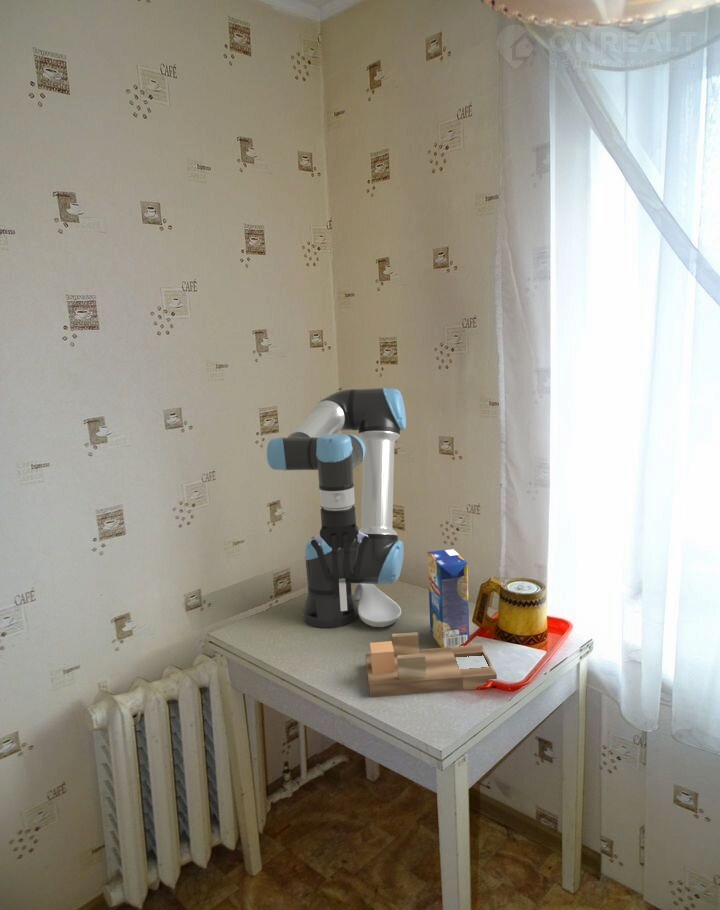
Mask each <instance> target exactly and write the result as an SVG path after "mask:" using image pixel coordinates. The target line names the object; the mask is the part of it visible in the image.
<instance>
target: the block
mask: <svg viewBox="0 0 720 910" xmlns="http://www.w3.org/2000/svg"><path fill="white" fill-rule="evenodd" d="M369 649H370V650H369V651H370V653H371V666H372V673H373V674H376V673H389V672H395V664H394V650H393V642H392V640H389V641H388V640H387V641H377V642H369Z"/></svg>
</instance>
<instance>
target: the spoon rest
mask: <svg viewBox="0 0 720 910" xmlns="http://www.w3.org/2000/svg"><path fill="white" fill-rule="evenodd" d="M353 598H354V600H355V601H358V604H357V614H358V616H359V619H360V620H361V621H362V622H364V624H366V625H368V626H370V627H374V628H385V627H389V626H392V625H393V624H395V623H396V622H397V621H398V620H399V618H400V617H401V616H402V609H401V607H400V605H399V604H398V603H397V602H396V601H394V600H393V599H392V598H391V597H389V596H388V595H387V594H386V593H385V592H383V591H382V590H380V588H378V587H377V586H376V584H362V583H356V587H355V588H354V592H353Z"/></svg>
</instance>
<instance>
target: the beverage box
mask: <svg viewBox="0 0 720 910" xmlns="http://www.w3.org/2000/svg"><path fill="white" fill-rule="evenodd" d="M427 567H428V568H427V569H428V571H427V572H428V595H429V596H428V598H429V599H428V600H429V602H428V605H429V629H430V630H429V632H430V634H431V635H432V636H433V638H434V640H435V641H436V642H437V644H438V645H439V648H447V647H459V646H460V645H461V644H463V643H465V642H466V641H467V640H469V641H470V617H469V616H470V615H469V614H470V613H469V612H470V611H469V609H470V608H469V572H468V571H469V570H468V562H467V561H466V560H465V559H464V558H463V557H462V556H461V554H459V553H458V552H457V551H456V550H455V549H454V548H449V549H442V550H432V551H427Z"/></svg>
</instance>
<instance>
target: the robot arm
mask: <svg viewBox="0 0 720 910" xmlns="http://www.w3.org/2000/svg"><path fill="white" fill-rule="evenodd" d="M406 428H407V416H406V408H405V403H404V399H403V395H402V393H401V391H400V390H398V388H385V387H381V388H363V389H360V388H359V389H358V388H357V389H356V388H355V389H353V388H352V389H350V388H349V389H344V390H341V391H337V392H334V393H332V394H330V395H327V396H326V397H324V398H322V399H321V400H320V401H318V402H317V404H315V405H314V406H313V408H312V411H311V414H310V415H309V416H308V417H307V418H306V419H305V420H304V421H303V422H302V423H300V424H299V426H297V427H296V429H294V430H293V431H292V432H291V433H290V434H289V435H288V436H287V437H282V436H281V437H274V438H271V439H270V440H269V441H268V443H267V446H266V459H267V460H266V461H267V464H268V466H269V467H270V469H272V470H276V471H284V472H285V471H317V473H318V474H317V475H318V477H317V478H318V489H319V490H318V491H319V505H320V507H321V509H320V520H321V521H320V522H321V525H320V526H321V528H320V530H319V534H317V535H316V536H312V537H311V538H310V539H309V540H307V542H306V544H305V556H304V559H305V569H306V570H305V571H306V580H307V581H306V584H307V594H306V599H305V603H304V607H303V621H304V622H305V623H306V624H307V625H309V626H311V627H312V626H313V627H317V628H323V629H324V628H326V629H327V628H329V629H330V628H331V629H332V628H337V627H338V628H339V627H342V626H346V625H348V624H350V623H353V621H355V620H356V619H357V618H358V616H359V614H358V604H357V603H356V600H354V594H353V592H352V584H359V583H362V584H373V585H379V586H380V585H392V584H395V583H396V582H397V581H398V579H399V578H400V575H401V571H402V569H403V568H402V567H403V563H404V555H405V554H404V553H405V551H404V548H405V547H404V545H405V544H404V542H403V541H402V540H400V539H399V534H398V533H397V531H396V530H394V528H393V523H394V522H393V521H394V519H393V518H394V517H393V515H394V514H393V513H394V477H395V476H394V475H395V474H394V472H395V470H394V469H395V443H396V441H398V439H399V438H400V437H401V431H403V430H406ZM340 431H358V436H357V435H355V434H351V433H348V434H344V433H339V432H340ZM361 463H362V483H361V484H362V487H361V488H362V491H361V493H362V494H361V517H360V519H361V521H360V523H361V524H360V528H359V527H358V525H357V520H356V518H357V517H356V507H355V506H354V505H355V503H356V501H355V484H354V469H355V468H356V467H358V466H359V465H360V464H361Z"/></svg>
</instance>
